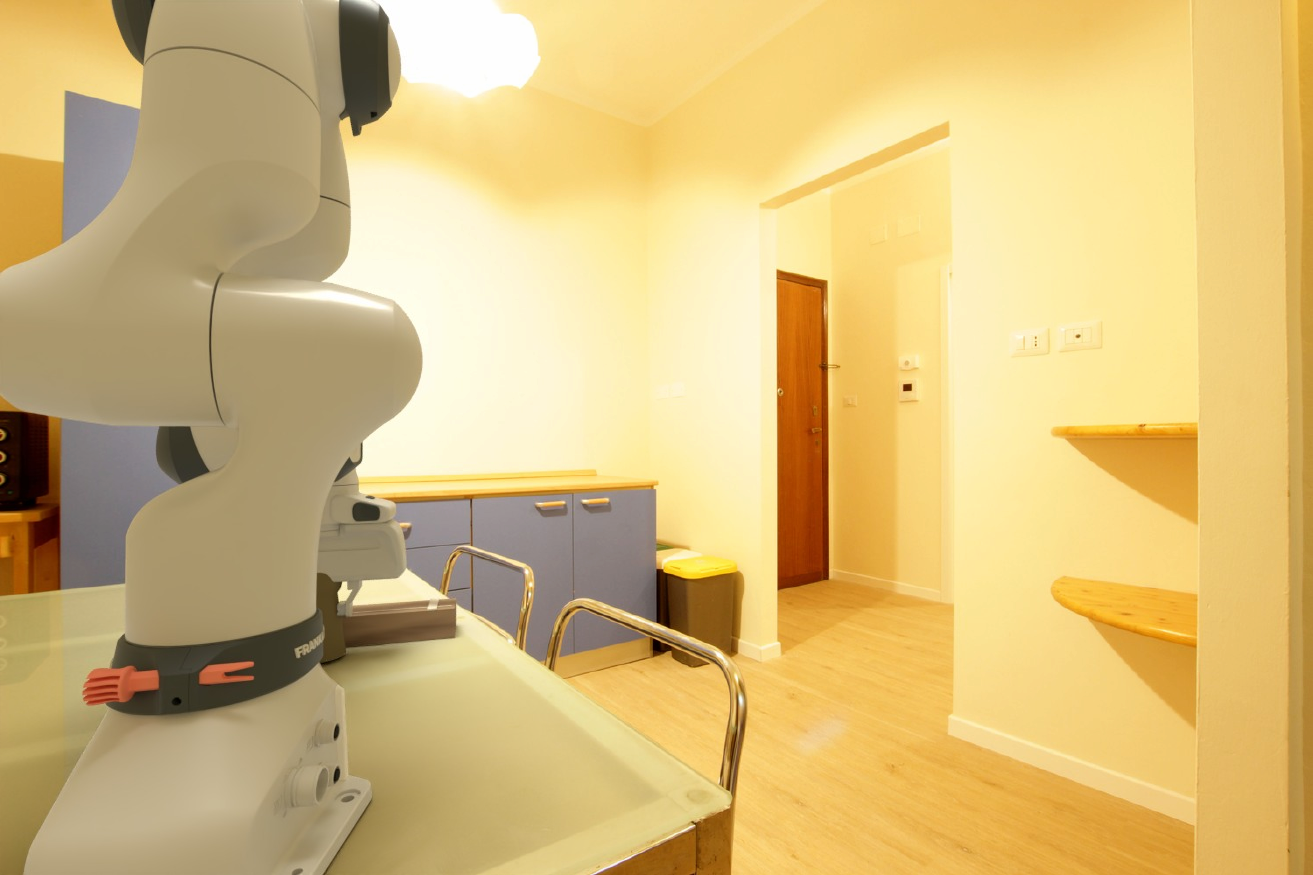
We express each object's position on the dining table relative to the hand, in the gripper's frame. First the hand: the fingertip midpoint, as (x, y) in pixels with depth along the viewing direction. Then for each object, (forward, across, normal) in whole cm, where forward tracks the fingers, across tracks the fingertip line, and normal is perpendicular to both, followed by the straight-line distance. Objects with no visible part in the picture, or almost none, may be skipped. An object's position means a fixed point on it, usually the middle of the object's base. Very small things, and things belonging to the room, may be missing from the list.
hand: (319, 618), depth 76 cm
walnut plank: (+5, +6, +7) cm, 11 cm away
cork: (+5, 0, 0) cm, 5 cm away
